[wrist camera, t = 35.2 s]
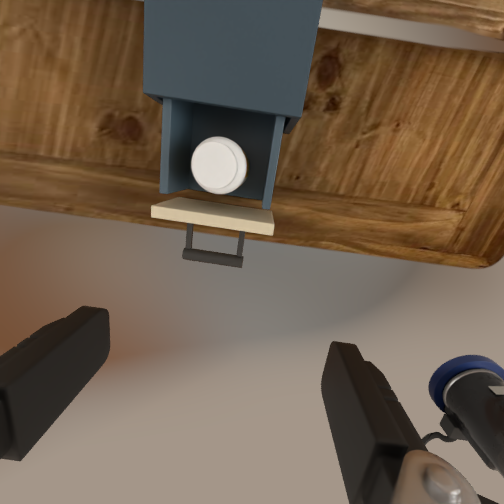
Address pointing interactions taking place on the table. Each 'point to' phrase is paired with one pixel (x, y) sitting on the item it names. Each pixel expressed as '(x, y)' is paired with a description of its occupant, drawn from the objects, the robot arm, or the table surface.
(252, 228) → the drawer
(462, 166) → the table surface
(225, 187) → the supplement bottle
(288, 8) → the cabinet
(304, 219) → the table surface
